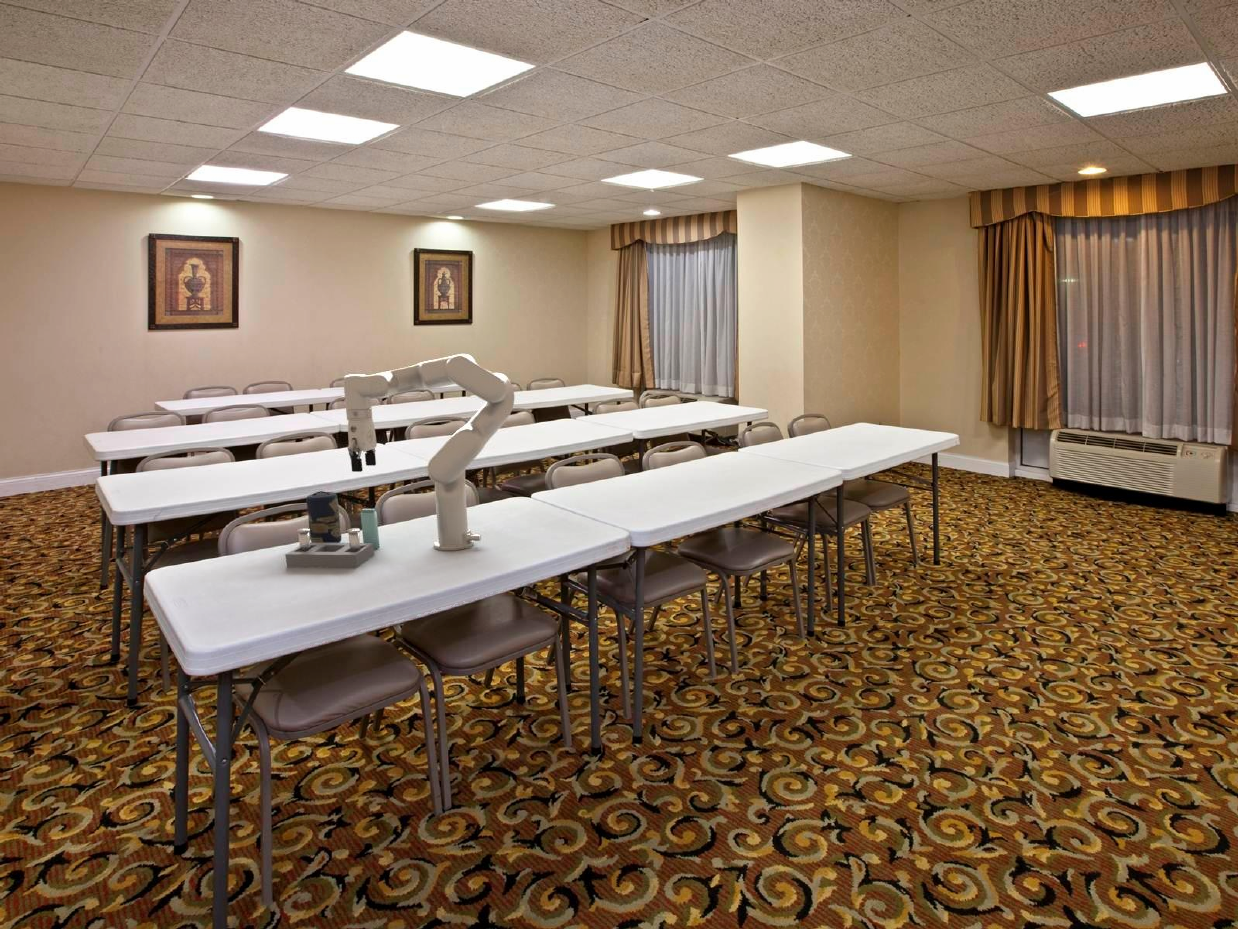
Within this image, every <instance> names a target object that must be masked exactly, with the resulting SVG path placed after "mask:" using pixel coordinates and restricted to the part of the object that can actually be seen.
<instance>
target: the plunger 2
mask: <svg viewBox="0 0 1238 929" xmlns="http://www.w3.org/2000/svg"><path fill="white" fill-rule="evenodd" d="M346 533H347V534H348V543H349V544H350V552H358V551H359V550H361V548H360V543H361V540H360V533H361V528H358V527H353V528H349V529H347V530H346Z"/></svg>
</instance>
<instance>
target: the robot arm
mask: <svg viewBox="0 0 1238 929" xmlns="http://www.w3.org/2000/svg"><path fill="white" fill-rule="evenodd" d="M455 384H456V386H459V387H460V388H462V389H464V390H465V391H468V392H469V393H471V394H473V395H474V396H476V397H478V398H479V399H481V400H482V401H485V403H484V404H483V405H482V406H481V408H479V410H478V411H477V412H476V413H475V415H474V416H472V417H471V418H470V419H469V421H467V423H465V424H464V425H463V426H461V427H460V428H459V429H458V430H456V432H455V433H453V434H452V436H450V437H449V439H448V440H447V441H446V442H445V443H444V444H443V446H441V448H440V449H439V450H438V451H437V452H436V453H435V454H434V455H433V456H432V457H431V459H430V460H429V461H428V463H427V468H426V470H427V474H428V477H429V478H430V480H431V481H432V482H434V496H435V497H434V498H435V509H436V510H435V511H436V524H437V538H438V539H437V540H435V541H434V542H433V547H434V549H436V550H438V551H447V552H450V551H451V552H452V551H458V550H459V551H460V550H464V548H465V549H467V548H470V547H472V546H473V545H474V543H475V542H481V540H482V535H481V534H480V533H472V529H471V528H470V529H469V528H468V527H469V526H468V525H469V523H468V512H467V511H468V509H467V494H466V468H467V467H468V466H469V465H470V464H471V463H472V462H473V461H474V460H475V459H476V458H477V457H478V455H479V454H480V453H481V452H482V450H483V449H484V448H485V446H486V444H487V443H488V442H489V441H490V439H492V437H493V436H494V435H495V434H496V433H497V432H498V430H500V428H501V427H502V426H503V425H504V423H505V422H507V420H508V418H509V417H510V415H511V413H512V411H513V408H514V405H515V390H514V387H513V385H512V382H511V381H510V378H509V377H508V376H507V375H505V374H504V373H501V372H492V371H490V370H487V369H486V368H484V367H482V366H481V365H479V364H478V363H477V362H476V360H475V358H474V357H472V355H470V354H466V353H460V354H455V355H452V356H451V355H450V356H447V357H441V358H437V359H432V360H427V361H422V362H419V363H417V364H414V365H412V366H406V367H402V368H398V369H393V370H392V369H391V370H389V371H383V372H378V373H375V374H370V375H366V374H362V373H361V374H360V373H359V374H358V373H357V374H347V375H344V377H343V391H344V402H345V412H346V414H345V415H346V421H347V423H348V424H347V435H348V445H347V451H348V456H349V459H350V464H351V472H353V473H354V472H357V473H359V472H361V473H362V472H363V462H362V459H363V458H361V455H362V452H363V453H364V452H365V453H364V458H365V466H368V467H369V466H373V467H374V466H376V465H377V460H376V447H377V444H378V442H377V436H376V428H375V424H374V418H373V410H372V409H373V407H372V399H385V398H387V397H390V396H392V395H393V396H394V395H396V394H397V395H398V394H400V393H407V392H410V391H416V390H424V391H425V390H432V389H436V388H441V387H446V386H450V385H455ZM371 398H372V399H371Z"/></svg>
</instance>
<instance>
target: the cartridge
mask: <svg viewBox="0 0 1238 929" xmlns="http://www.w3.org/2000/svg"><path fill="white" fill-rule="evenodd" d="M377 516H378V515H377V511H376V508H362V509H361V512H360V521H361V531H362V532H361V533H362V543H373V546H374V551H377V550H379V549H380V547H381V546H380V538H379V537H380V536H379V526H378V517H377ZM378 548H379V549H378Z"/></svg>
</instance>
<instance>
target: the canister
mask: <svg viewBox="0 0 1238 929" xmlns="http://www.w3.org/2000/svg"><path fill="white" fill-rule="evenodd" d="M305 501H306V509H307V510H306V511H307V518H308V528H310V532H309V537H310V543H341V541H342V539H343V538H342V529H341V528H342V527H341V521H340V510H339V509H340V508H339V501H338V495H337V493H335V492H333V491H323V490H320V491H316V492H313V493H311V494H309V495H307V497H306V500H305Z"/></svg>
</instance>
